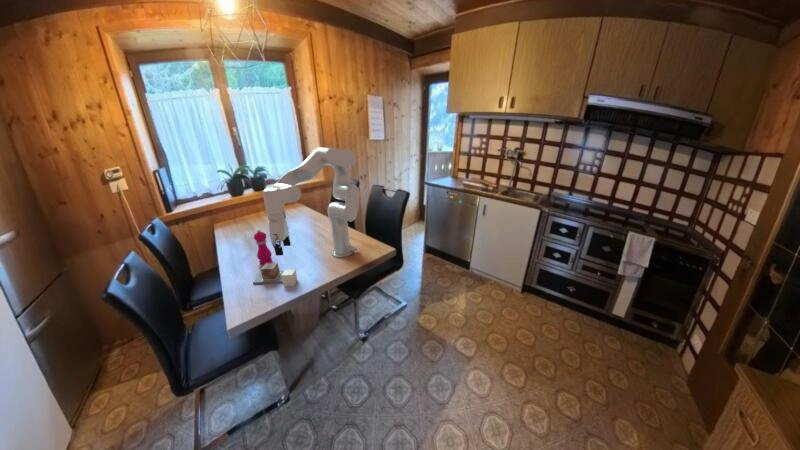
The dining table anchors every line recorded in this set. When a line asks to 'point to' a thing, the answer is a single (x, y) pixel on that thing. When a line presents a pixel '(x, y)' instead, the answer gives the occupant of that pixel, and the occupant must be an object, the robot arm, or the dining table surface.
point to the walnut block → (270, 271)
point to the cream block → (289, 277)
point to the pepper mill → (262, 248)
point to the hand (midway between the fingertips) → (283, 250)
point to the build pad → (260, 279)
